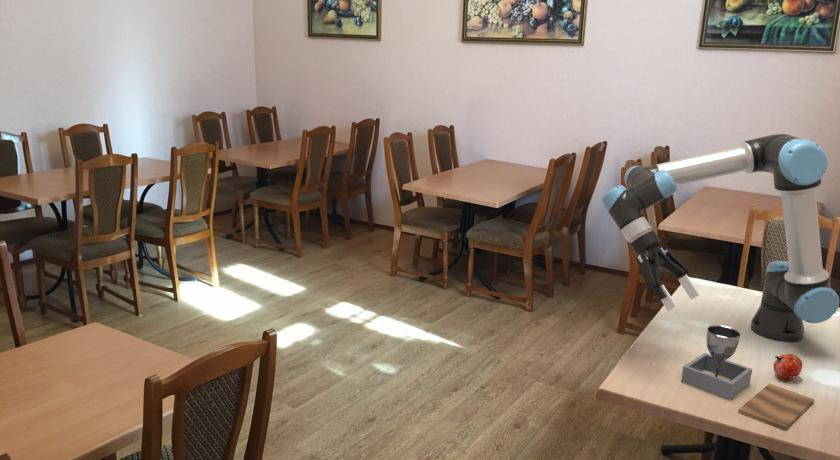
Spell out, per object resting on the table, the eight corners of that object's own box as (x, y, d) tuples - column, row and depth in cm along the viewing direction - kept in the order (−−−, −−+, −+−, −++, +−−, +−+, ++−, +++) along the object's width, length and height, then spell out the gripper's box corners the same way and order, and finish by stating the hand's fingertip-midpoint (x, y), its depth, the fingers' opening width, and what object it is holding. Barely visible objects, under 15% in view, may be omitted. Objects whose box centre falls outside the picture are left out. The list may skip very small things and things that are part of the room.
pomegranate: (790, 380, 196) (763, 356, 196) (813, 366, 192) (785, 341, 193) (792, 395, 189) (764, 369, 190) (815, 380, 186) (787, 354, 186)
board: (768, 386, 187) (769, 383, 187) (813, 402, 179) (814, 399, 179) (738, 412, 173) (738, 408, 173) (785, 430, 166) (785, 426, 165)
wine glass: (734, 392, 183) (743, 339, 179) (702, 388, 185) (710, 335, 181) (727, 378, 191) (736, 327, 187) (697, 374, 192) (705, 323, 188)
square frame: (702, 367, 197) (704, 352, 195) (749, 384, 188) (752, 369, 187) (680, 381, 188) (683, 366, 187) (729, 400, 179) (732, 384, 178)
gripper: (652, 236, 207) (694, 298, 201) (607, 251, 190) (651, 320, 184) (672, 223, 202) (715, 286, 196) (627, 237, 185) (673, 307, 179)
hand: (684, 302), depth 190 cm, fingers open, 13 cm apart
